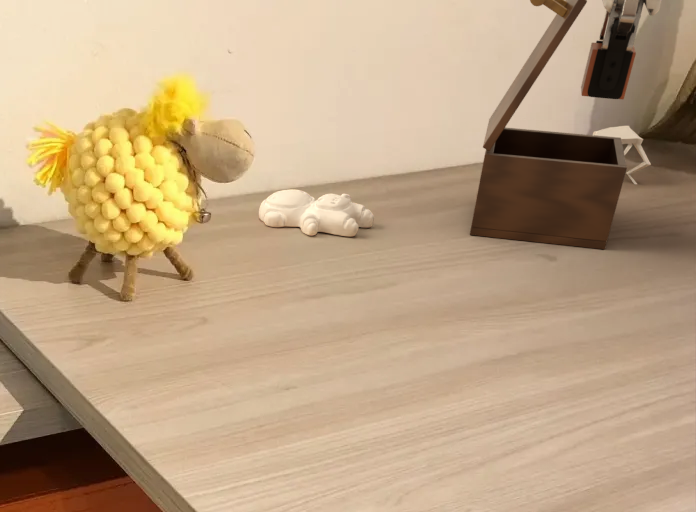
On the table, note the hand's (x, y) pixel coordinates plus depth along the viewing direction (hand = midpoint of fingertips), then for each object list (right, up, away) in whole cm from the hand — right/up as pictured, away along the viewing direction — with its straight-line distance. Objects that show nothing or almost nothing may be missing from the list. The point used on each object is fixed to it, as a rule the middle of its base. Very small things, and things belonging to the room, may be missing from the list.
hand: (603, 90), depth 102 cm
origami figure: (+11, +3, +25) cm, 28 cm away
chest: (-4, -10, +9) cm, 14 cm away
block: (0, 0, 0) cm, 0 cm away
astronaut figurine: (-28, -10, +7) cm, 31 cm away
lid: (-7, +2, 0) cm, 7 cm away
